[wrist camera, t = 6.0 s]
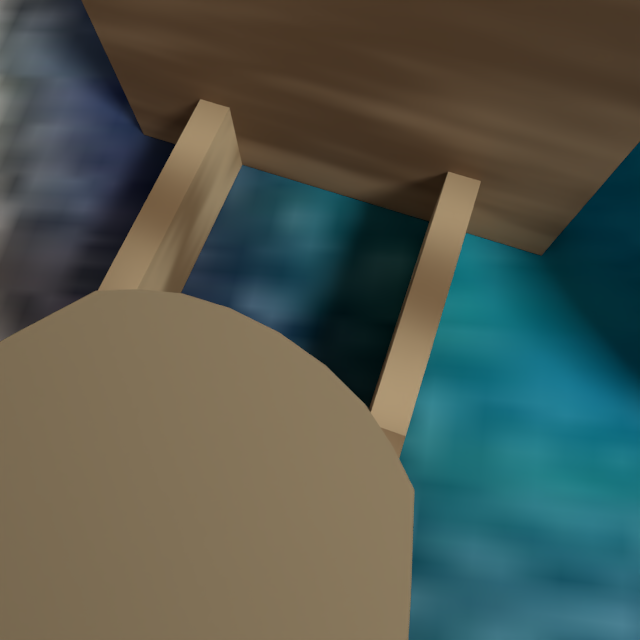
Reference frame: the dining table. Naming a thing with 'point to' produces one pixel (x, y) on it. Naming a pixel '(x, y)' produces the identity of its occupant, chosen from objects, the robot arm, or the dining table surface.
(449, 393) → the dining table surface
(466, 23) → the cleat board
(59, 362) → the handle
